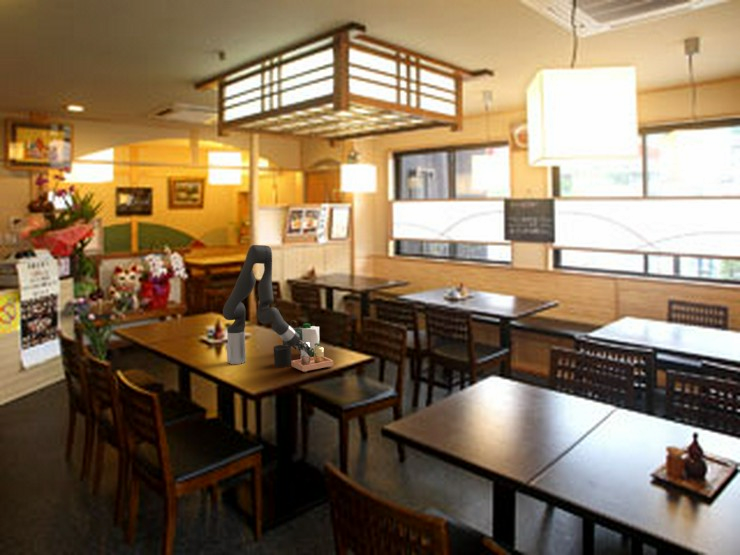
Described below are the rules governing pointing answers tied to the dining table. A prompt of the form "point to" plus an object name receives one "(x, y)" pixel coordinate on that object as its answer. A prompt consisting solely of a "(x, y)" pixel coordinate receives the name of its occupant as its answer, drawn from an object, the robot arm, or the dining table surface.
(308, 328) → the milk carton
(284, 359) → the pen holder
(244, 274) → the robot arm
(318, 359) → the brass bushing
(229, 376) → the dining table surface
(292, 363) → the pink tray
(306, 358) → the steel spacer
